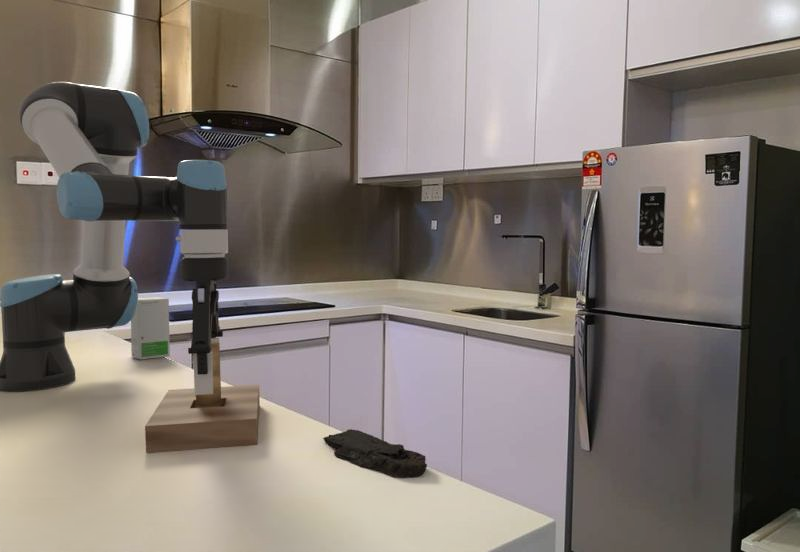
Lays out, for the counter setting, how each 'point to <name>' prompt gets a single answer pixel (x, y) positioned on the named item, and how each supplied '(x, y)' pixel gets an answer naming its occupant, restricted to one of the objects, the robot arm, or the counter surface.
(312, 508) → the counter surface
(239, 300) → the counter surface
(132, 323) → the skincare box
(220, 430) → the seat board
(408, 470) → the black flat rough slab
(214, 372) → the oak dowel
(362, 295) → the counter surface
